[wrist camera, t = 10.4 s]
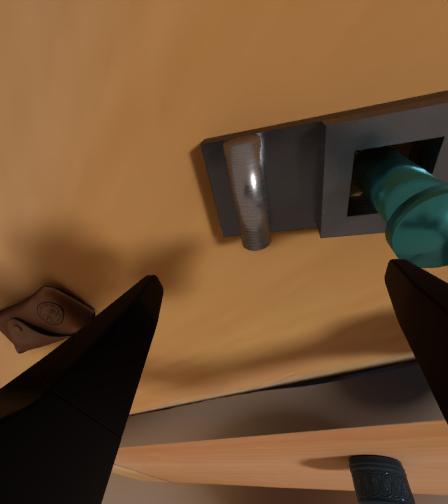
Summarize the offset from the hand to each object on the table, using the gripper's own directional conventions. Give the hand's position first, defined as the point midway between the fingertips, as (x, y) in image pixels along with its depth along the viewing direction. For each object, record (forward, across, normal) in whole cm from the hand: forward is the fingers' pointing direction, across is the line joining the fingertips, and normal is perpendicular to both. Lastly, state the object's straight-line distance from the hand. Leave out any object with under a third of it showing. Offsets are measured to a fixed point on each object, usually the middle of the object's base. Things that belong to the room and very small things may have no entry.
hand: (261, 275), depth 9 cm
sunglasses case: (+13, +36, +15) cm, 41 cm away
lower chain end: (+12, -8, +1) cm, 14 cm away
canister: (+12, -21, +83) cm, 86 cm away
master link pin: (+12, -8, +1) cm, 14 cm away
